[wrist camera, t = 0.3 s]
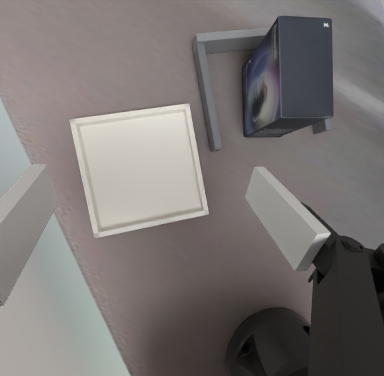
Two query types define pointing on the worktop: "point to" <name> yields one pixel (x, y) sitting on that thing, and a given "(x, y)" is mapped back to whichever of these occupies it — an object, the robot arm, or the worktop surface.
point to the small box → (289, 77)
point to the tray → (139, 168)
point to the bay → (201, 47)
